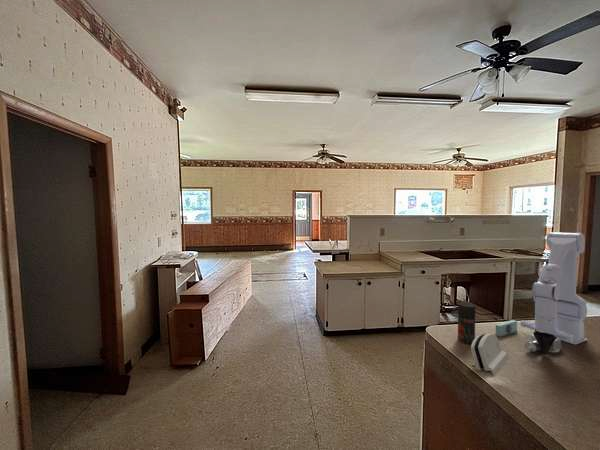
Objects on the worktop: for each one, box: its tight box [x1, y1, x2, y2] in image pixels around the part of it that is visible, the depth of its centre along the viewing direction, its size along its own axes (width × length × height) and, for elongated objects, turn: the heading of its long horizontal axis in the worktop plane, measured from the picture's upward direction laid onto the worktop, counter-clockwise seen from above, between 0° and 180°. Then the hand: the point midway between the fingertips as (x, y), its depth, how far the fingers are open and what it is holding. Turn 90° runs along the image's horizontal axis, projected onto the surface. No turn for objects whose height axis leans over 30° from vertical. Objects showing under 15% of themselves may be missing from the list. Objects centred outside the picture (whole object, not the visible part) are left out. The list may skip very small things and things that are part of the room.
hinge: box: [470, 333, 510, 377], centre depth 94 cm, size 17×5×10 cm, turn 130°
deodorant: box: [457, 301, 476, 346], centre depth 109 cm, size 6×6×15 cm
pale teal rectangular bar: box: [495, 319, 518, 337], centre depth 116 cm, size 12×2×4 cm, turn 113°
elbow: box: [524, 333, 562, 353], centre depth 102 cm, size 14×7×4 cm, turn 113°
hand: (544, 353), depth 97 cm, fingers closed
